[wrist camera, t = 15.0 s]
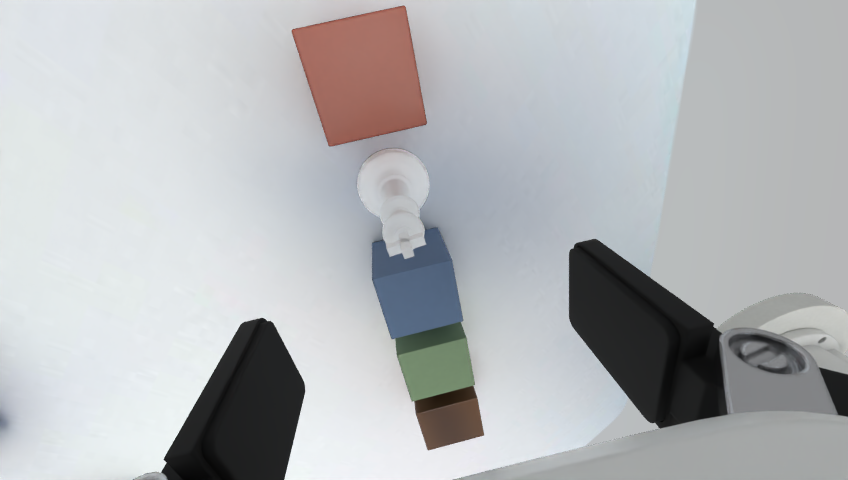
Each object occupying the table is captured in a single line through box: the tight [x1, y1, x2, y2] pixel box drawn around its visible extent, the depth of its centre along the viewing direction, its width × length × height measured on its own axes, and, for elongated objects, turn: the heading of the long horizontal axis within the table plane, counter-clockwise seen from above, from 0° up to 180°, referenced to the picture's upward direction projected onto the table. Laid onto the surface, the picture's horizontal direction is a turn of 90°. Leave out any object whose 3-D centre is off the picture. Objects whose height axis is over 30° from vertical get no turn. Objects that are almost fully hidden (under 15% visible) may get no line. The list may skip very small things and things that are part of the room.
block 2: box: [372, 227, 463, 339], centre depth 23 cm, size 5×5×5 cm
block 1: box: [292, 6, 427, 146], centre depth 17 cm, size 5×5×5 cm
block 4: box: [414, 386, 484, 450], centre depth 29 cm, size 5×5×5 cm
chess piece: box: [357, 148, 429, 259], centre depth 18 cm, size 5×5×10 cm
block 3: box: [395, 322, 475, 401], centre depth 26 cm, size 5×5×5 cm
